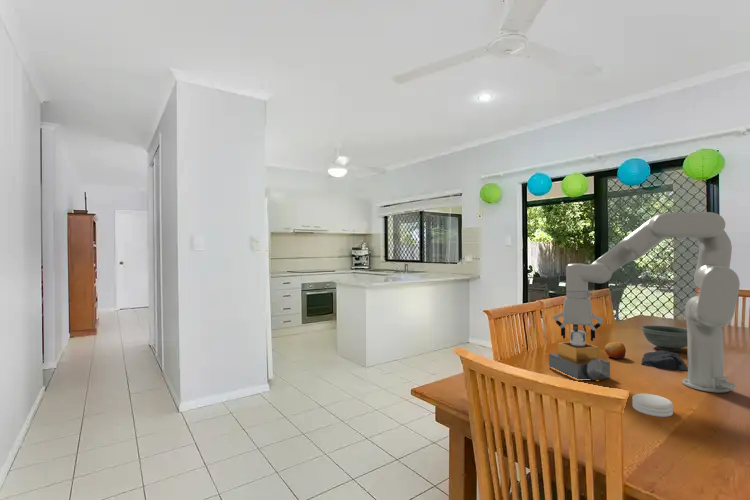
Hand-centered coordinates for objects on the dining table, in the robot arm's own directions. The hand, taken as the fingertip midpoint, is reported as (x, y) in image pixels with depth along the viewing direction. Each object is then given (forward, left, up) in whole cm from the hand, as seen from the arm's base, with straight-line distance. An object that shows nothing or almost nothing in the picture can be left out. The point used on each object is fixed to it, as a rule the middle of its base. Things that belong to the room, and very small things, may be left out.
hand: (577, 338), depth 151 cm
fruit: (+14, -31, -14) cm, 37 cm away
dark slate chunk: (+3, -44, -14) cm, 46 cm away
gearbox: (0, 0, -13) cm, 13 cm away
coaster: (-35, +4, -14) cm, 38 cm away
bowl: (+19, -66, -14) cm, 70 cm away
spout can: (0, 0, -7) cm, 7 cm away
